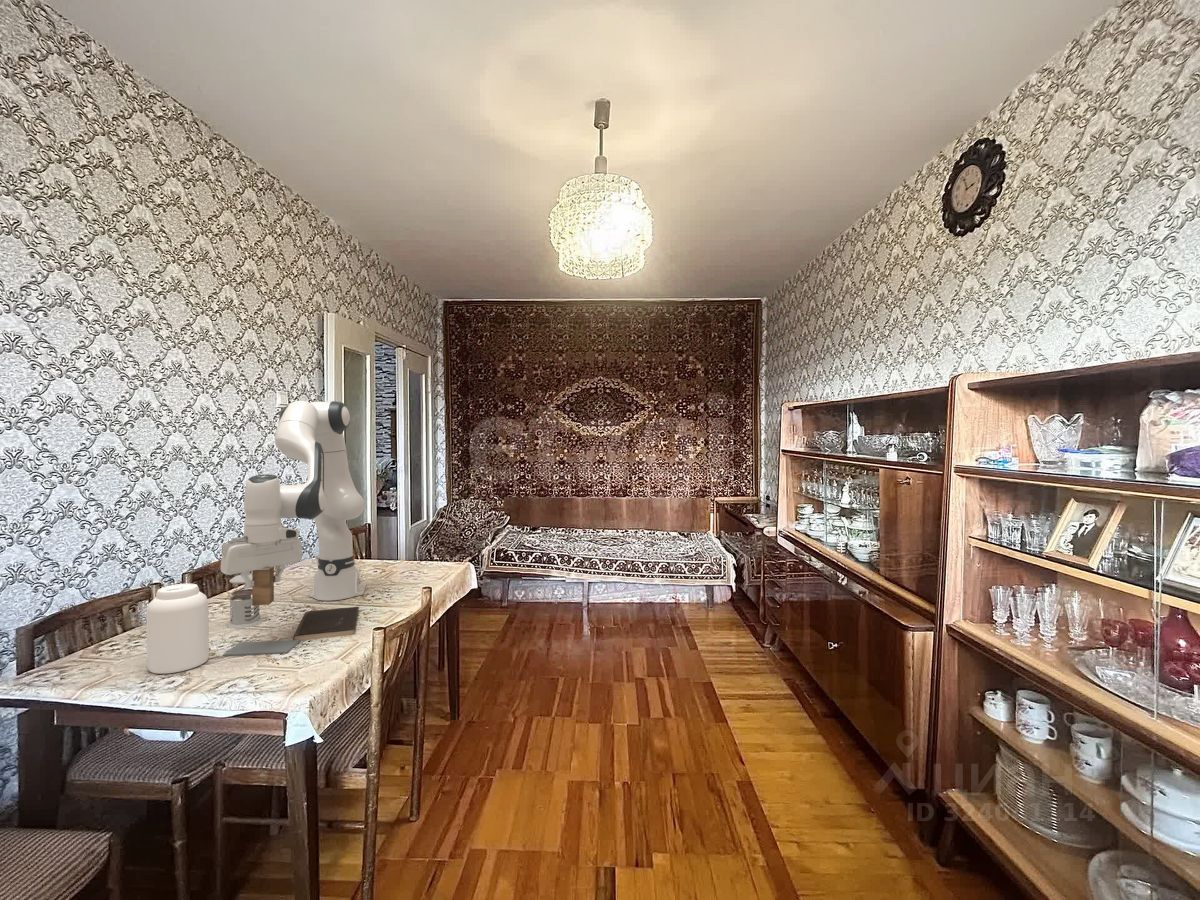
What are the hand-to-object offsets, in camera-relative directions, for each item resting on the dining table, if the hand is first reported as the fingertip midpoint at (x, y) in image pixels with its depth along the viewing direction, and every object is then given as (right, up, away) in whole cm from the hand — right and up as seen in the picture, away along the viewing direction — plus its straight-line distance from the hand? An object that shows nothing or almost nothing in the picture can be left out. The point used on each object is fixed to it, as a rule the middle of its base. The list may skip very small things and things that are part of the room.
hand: (263, 584), depth 154 cm
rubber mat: (0, -17, -1) cm, 17 cm away
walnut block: (0, -5, 0) cm, 5 cm away
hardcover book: (+9, -18, +18) cm, 27 cm away
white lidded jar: (-14, -18, -12) cm, 26 cm away
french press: (-18, -17, +21) cm, 33 cm away
